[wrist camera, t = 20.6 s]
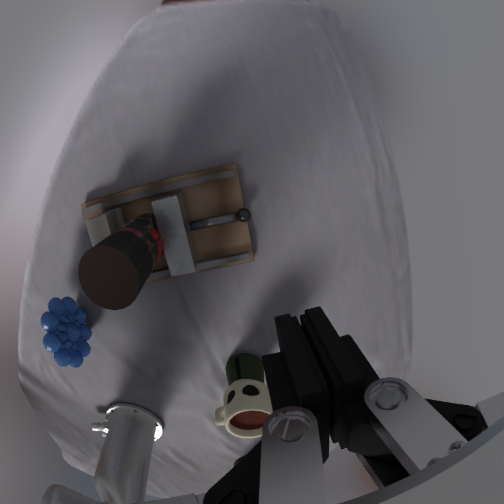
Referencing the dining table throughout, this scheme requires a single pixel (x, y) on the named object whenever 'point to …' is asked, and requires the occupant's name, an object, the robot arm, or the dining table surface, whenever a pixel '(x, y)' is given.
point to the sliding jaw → (184, 231)
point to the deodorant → (121, 263)
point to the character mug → (245, 398)
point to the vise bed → (199, 207)
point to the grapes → (66, 332)
